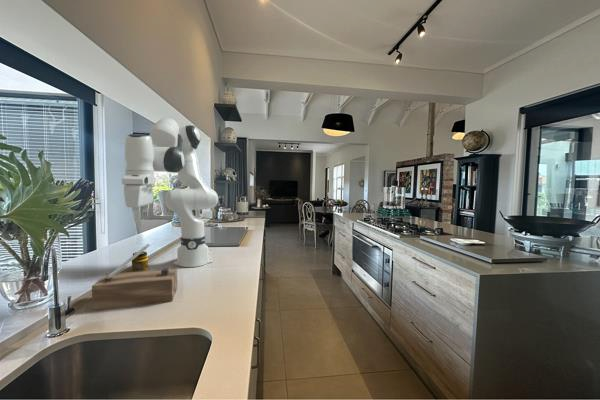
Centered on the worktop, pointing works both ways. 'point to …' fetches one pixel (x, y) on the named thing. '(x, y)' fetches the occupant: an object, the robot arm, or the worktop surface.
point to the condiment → (140, 262)
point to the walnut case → (135, 288)
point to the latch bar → (126, 262)
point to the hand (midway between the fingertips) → (141, 217)
